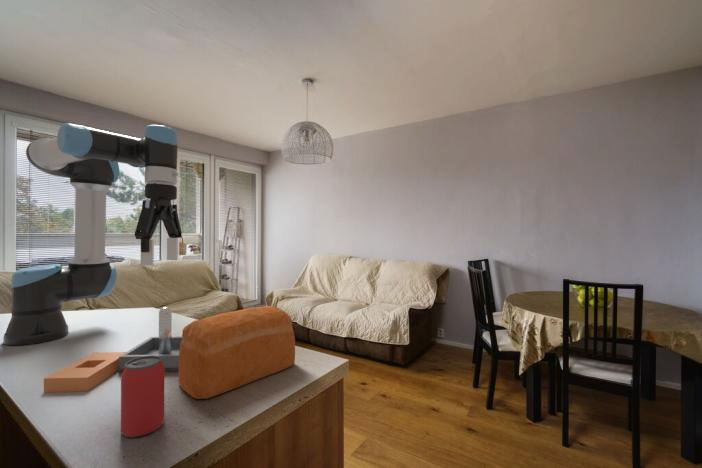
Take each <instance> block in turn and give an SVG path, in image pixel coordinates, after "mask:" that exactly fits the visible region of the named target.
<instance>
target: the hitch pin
mask: <svg viewBox="0 0 702 468" xmlns="http://www.w3.org/2000/svg"><path fill="white" fill-rule="evenodd" d="M172 312H173V311H172V308H170V307H168V306H163V307H162V308H160V310H159V311H158V337H159V354H172V337H173V336H172V334H173V333H172V332H173V331H172V328H173V327H172V324H173V323H172V322H173V321H172V320H173V319H172V317H173V316H172V315H173V313H172Z"/></svg>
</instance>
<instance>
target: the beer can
mask: <svg viewBox="0 0 702 468" xmlns="http://www.w3.org/2000/svg"><path fill="white" fill-rule="evenodd" d="M164 422H165V372H164V366H163V364H162V362H161V358H160V357H159V356H144V357H139V358H135V359H132V360H130V361H128V362H127V363H126V364H125V368H124V371H123V373H121V378H120V432H121V434H122V435H123V436H124V437H127V438H140V437H144V436H147V435H150V434H151V433H154V432H155V431H157V430H159V428H160V427H161V426H162V425H163V424H164Z"/></svg>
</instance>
